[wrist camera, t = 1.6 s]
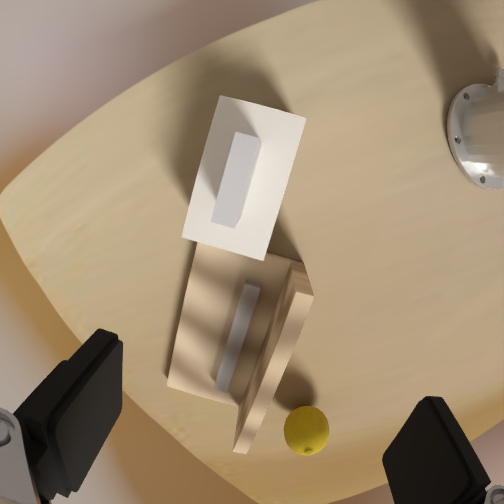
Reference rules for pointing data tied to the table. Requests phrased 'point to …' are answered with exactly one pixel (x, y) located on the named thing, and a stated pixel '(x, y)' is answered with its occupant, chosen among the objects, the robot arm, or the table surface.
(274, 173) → the white stepped block
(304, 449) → the lemon
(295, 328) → the cleat board
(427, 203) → the table surface
